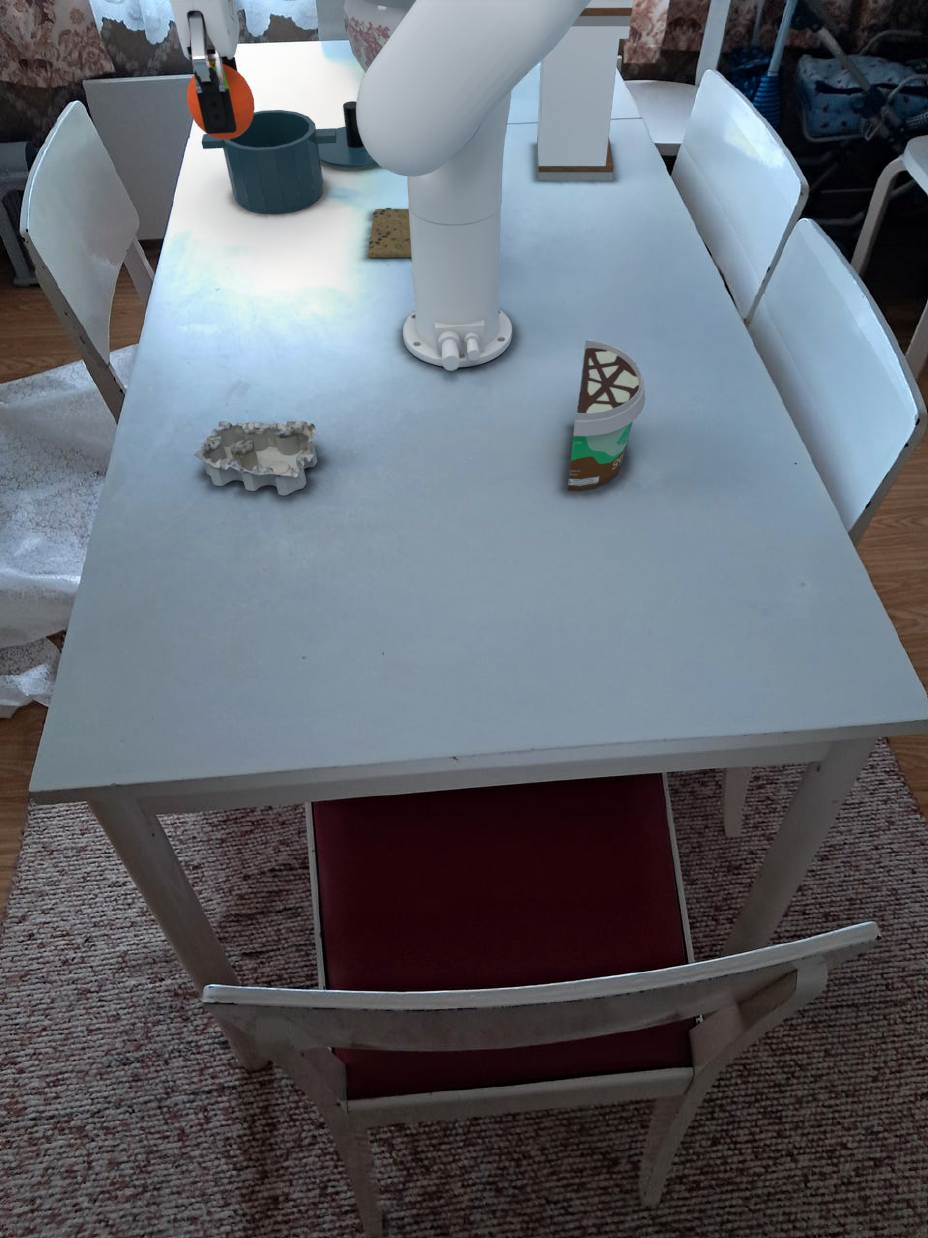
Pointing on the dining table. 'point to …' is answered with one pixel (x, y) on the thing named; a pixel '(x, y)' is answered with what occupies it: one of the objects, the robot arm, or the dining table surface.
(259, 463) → the egg carton
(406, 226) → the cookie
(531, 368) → the dining table surface
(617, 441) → the food container
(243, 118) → the clementine
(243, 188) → the pot
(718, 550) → the dining table surface
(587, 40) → the striped white pillar
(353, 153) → the pot lid
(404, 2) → the soup tureen
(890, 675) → the dining table surface
